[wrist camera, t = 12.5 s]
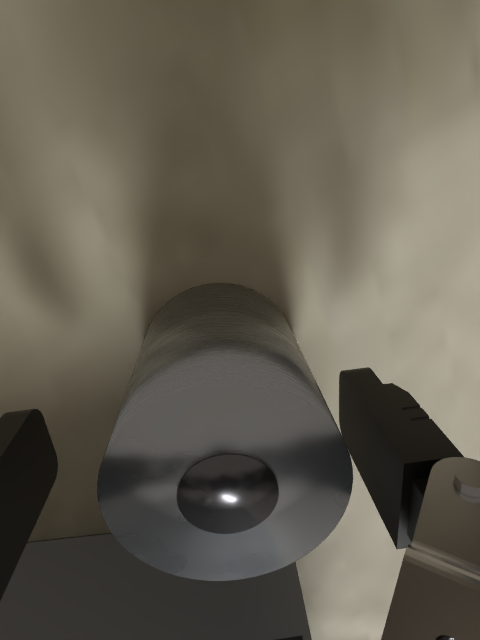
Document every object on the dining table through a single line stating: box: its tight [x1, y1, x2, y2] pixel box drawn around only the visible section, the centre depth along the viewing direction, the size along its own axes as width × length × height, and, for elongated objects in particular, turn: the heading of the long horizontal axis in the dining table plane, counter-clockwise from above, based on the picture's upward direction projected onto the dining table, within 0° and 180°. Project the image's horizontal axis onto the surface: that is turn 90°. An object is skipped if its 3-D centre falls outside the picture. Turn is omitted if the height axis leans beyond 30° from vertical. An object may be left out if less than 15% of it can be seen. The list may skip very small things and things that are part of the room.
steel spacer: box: [97, 283, 353, 581], centre depth 11 cm, size 5×5×6 cm
